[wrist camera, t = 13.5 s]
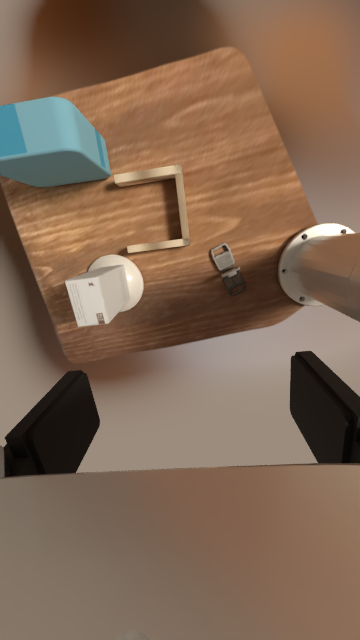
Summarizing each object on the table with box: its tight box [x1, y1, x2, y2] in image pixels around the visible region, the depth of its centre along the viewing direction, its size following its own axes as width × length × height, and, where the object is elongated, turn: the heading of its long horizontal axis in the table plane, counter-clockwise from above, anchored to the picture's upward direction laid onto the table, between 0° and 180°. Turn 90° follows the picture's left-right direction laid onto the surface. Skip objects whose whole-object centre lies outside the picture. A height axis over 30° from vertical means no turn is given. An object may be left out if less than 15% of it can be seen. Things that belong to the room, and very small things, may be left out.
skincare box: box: [65, 265, 130, 327], centre depth 34 cm, size 6×4×12 cm
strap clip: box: [211, 243, 246, 296], centre depth 37 cm, size 8×3×4 cm, turn 27°
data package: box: [0, 97, 111, 187], centre depth 29 cm, size 12×4×12 cm, turn 96°
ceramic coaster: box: [88, 255, 144, 312], centre depth 40 cm, size 10×10×1 cm
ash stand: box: [114, 164, 190, 253], centre depth 35 cm, size 10×10×2 cm
